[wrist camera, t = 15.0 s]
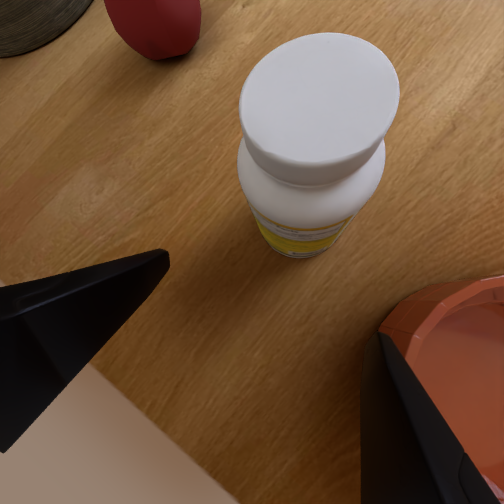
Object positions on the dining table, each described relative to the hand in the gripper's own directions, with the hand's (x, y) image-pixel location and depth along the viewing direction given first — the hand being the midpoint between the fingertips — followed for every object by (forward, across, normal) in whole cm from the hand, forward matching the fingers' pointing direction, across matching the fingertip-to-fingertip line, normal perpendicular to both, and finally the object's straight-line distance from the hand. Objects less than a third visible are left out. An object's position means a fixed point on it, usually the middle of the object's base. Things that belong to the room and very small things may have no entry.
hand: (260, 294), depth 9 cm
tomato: (+20, +18, -9) cm, 28 cm away
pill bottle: (+10, 0, +1) cm, 10 cm away
